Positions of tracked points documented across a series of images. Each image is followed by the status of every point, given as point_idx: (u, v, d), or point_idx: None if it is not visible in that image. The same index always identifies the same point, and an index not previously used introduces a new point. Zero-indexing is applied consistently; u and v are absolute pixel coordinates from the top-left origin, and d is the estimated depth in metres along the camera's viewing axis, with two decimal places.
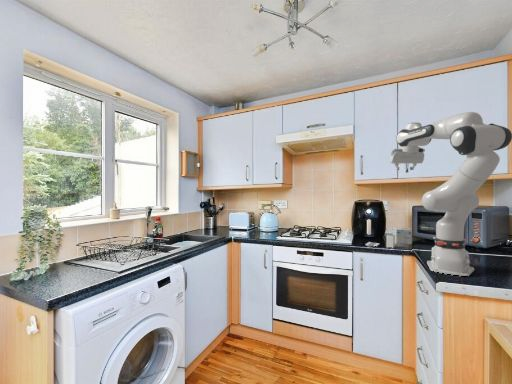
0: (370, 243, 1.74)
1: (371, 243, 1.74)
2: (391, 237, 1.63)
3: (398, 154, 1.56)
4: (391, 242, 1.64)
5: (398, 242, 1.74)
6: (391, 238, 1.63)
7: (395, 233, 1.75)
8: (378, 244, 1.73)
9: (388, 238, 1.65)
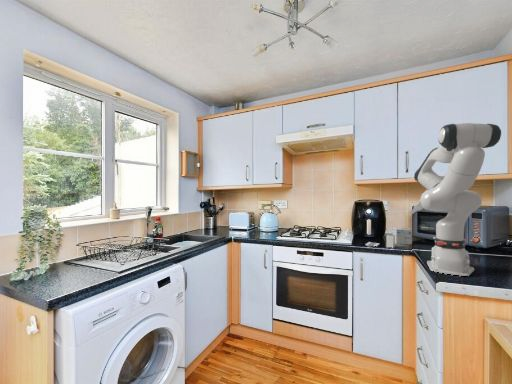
0: (370, 243, 1.74)
1: (371, 243, 1.74)
2: (391, 237, 1.63)
3: None
4: (391, 242, 1.64)
5: (398, 242, 1.74)
6: (391, 238, 1.63)
7: (395, 233, 1.75)
8: (378, 244, 1.73)
9: (388, 238, 1.65)
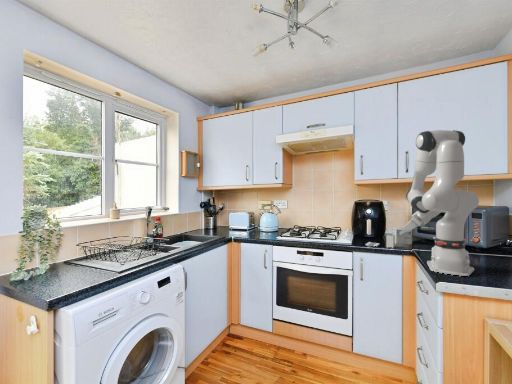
0: (370, 243, 1.74)
1: (371, 243, 1.74)
2: (391, 237, 1.63)
3: None
4: (391, 242, 1.64)
5: (398, 242, 1.74)
6: (391, 238, 1.63)
7: (395, 233, 1.75)
8: (378, 244, 1.73)
9: (388, 238, 1.65)
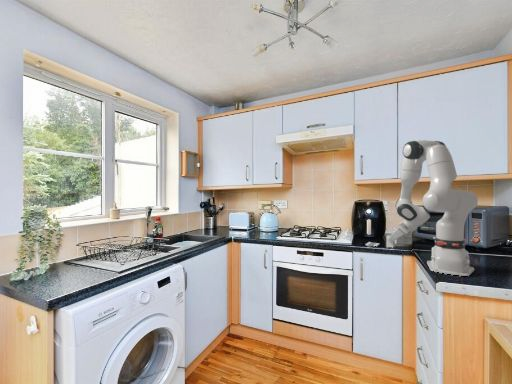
0: (370, 243, 1.74)
1: (371, 243, 1.74)
2: None
3: None
4: (391, 242, 1.64)
5: (398, 242, 1.74)
6: None
7: None
8: (378, 244, 1.73)
9: (388, 238, 1.65)
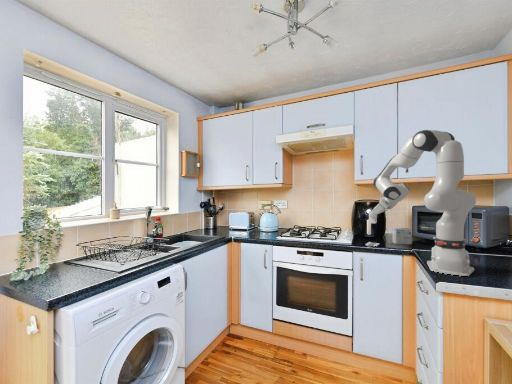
0: (370, 243, 1.74)
1: (371, 243, 1.74)
2: None
3: None
4: (373, 218, 1.71)
5: (398, 242, 1.74)
6: None
7: (395, 233, 1.75)
8: (378, 244, 1.73)
9: (370, 214, 1.72)
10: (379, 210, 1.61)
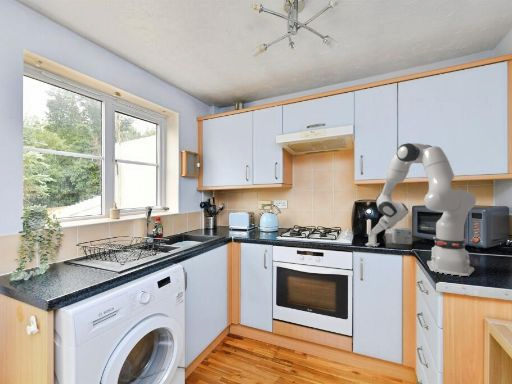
0: None
1: None
2: None
3: None
4: (373, 239, 1.71)
5: (398, 242, 1.74)
6: (373, 235, 1.71)
7: (395, 233, 1.75)
8: (378, 244, 1.73)
9: None
10: (379, 230, 1.61)
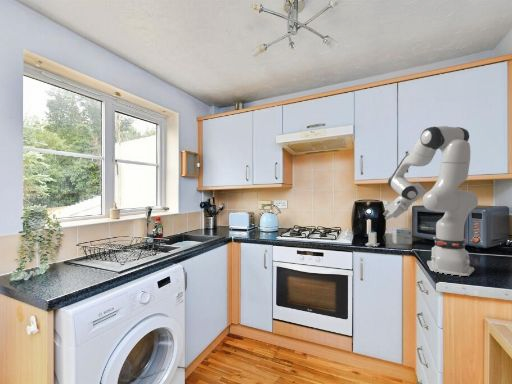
0: None
1: None
2: (373, 234, 1.71)
3: (393, 202, 1.71)
4: (373, 239, 1.71)
5: (398, 242, 1.74)
6: (373, 235, 1.71)
7: (395, 233, 1.75)
8: (378, 244, 1.73)
9: (370, 235, 1.72)
10: (399, 213, 1.56)
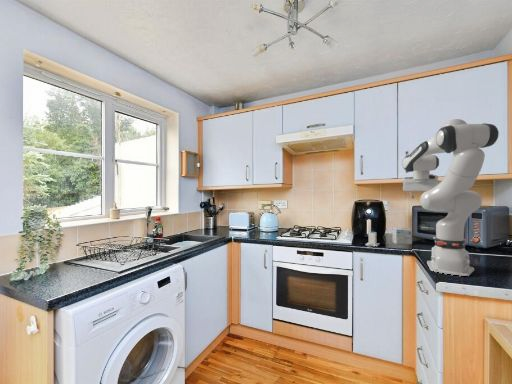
0: None
1: None
2: (373, 234, 1.71)
3: (407, 182, 1.60)
4: (373, 239, 1.71)
5: (398, 242, 1.74)
6: (373, 235, 1.71)
7: (395, 233, 1.75)
8: (378, 244, 1.73)
9: (370, 235, 1.72)
10: None
